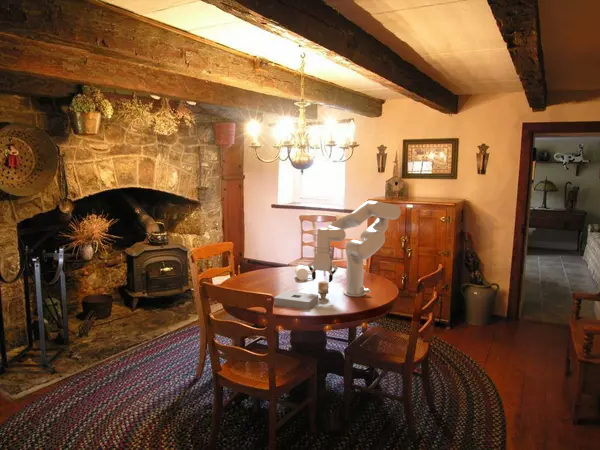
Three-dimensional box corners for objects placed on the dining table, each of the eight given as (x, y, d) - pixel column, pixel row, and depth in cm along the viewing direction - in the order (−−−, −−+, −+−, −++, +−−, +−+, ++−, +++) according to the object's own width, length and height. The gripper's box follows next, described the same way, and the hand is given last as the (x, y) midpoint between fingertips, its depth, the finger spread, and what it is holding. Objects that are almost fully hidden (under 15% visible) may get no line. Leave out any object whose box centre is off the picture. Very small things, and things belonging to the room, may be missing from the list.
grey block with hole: (318, 302, 237) (318, 294, 236) (308, 309, 224) (309, 302, 223) (284, 297, 244) (284, 290, 244) (273, 304, 231) (273, 297, 231)
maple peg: (329, 297, 246) (329, 281, 244) (326, 300, 240) (326, 284, 239) (320, 296, 248) (320, 280, 247) (316, 298, 243) (316, 283, 241)
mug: (296, 280, 282) (296, 268, 281) (294, 276, 292) (294, 265, 291) (314, 280, 284) (314, 268, 282) (312, 276, 293) (312, 264, 292)
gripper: (340, 250, 241) (338, 281, 243) (311, 247, 247) (310, 277, 249) (336, 252, 234) (334, 283, 236) (306, 249, 240) (305, 279, 242)
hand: (322, 280), depth 242 cm, fingers open, 9 cm apart
